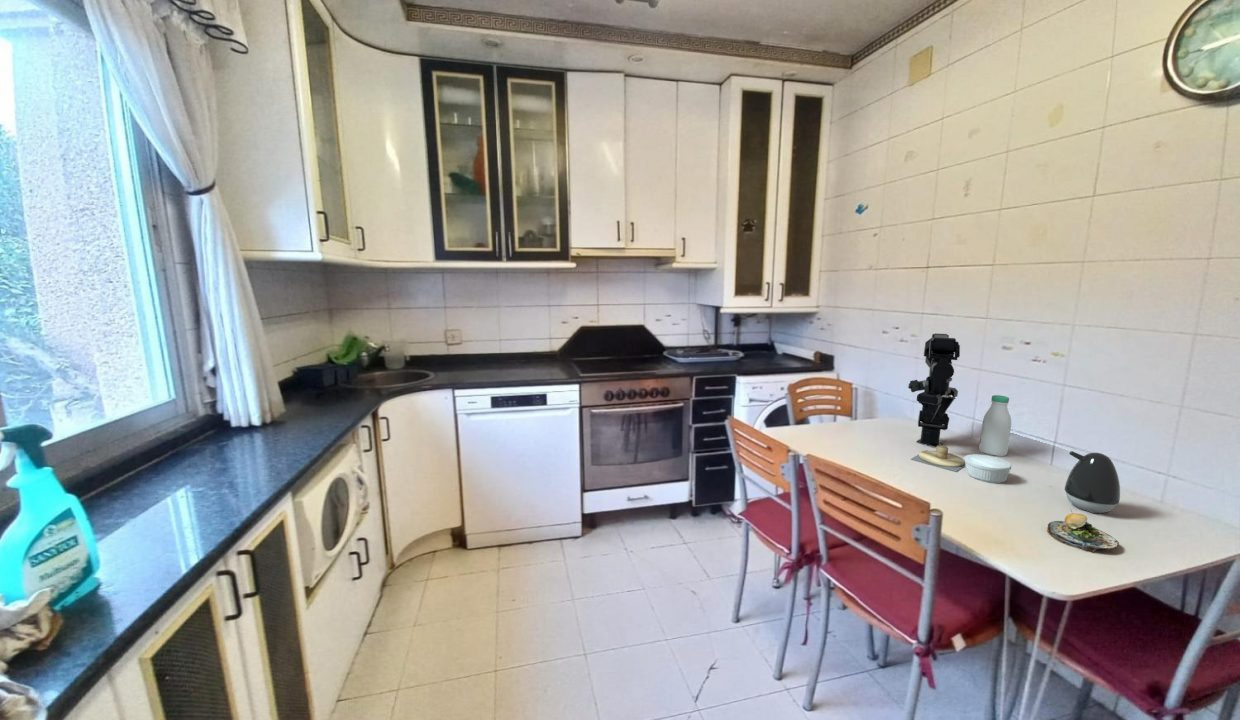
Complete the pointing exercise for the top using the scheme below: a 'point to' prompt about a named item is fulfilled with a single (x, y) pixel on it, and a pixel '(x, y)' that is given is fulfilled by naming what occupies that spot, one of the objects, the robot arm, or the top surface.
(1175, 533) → the top surface
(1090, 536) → the oval plate with food
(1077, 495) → the pump dispenser
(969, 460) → the ramekin
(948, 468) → the mat
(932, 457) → the lid
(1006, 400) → the milk bottle
